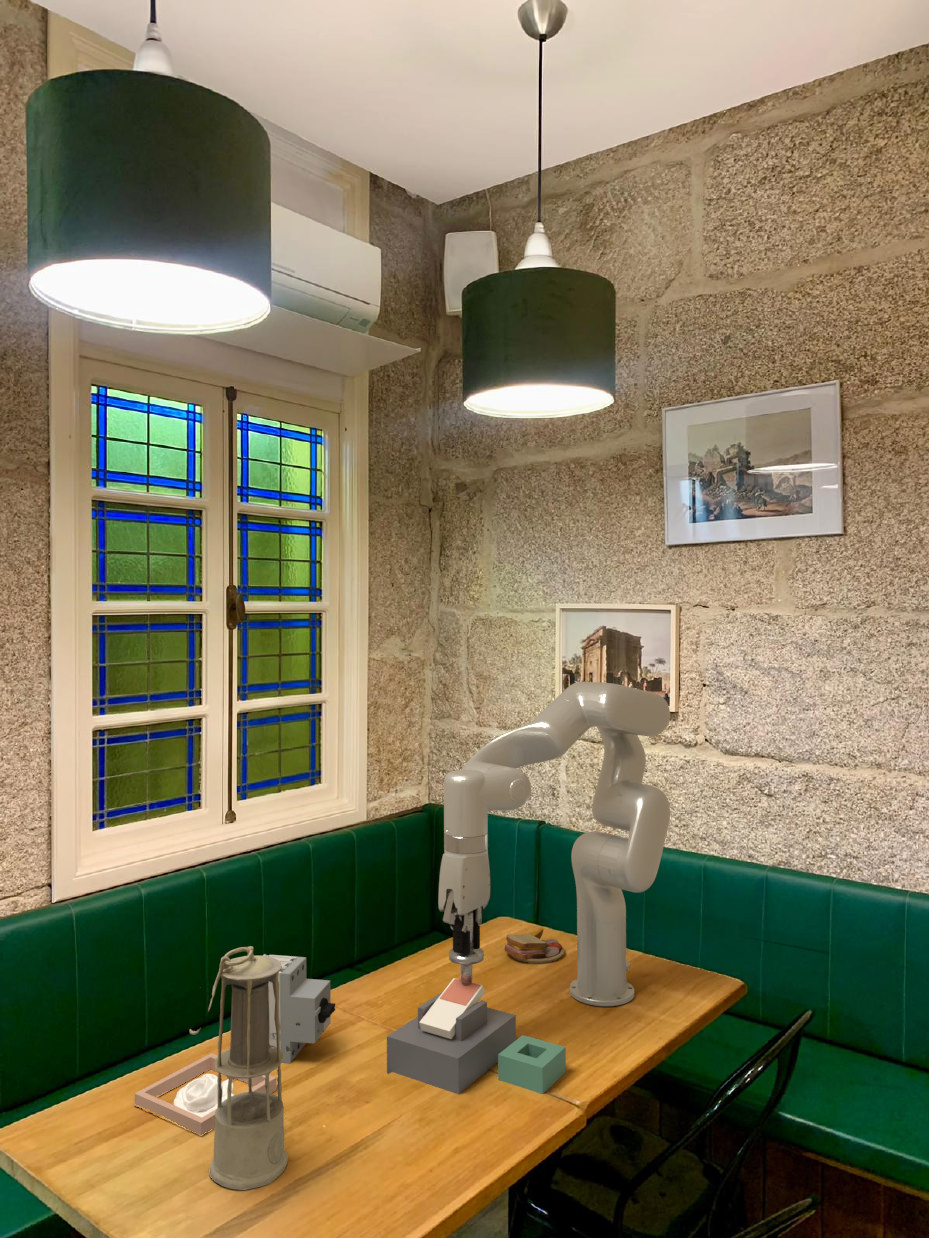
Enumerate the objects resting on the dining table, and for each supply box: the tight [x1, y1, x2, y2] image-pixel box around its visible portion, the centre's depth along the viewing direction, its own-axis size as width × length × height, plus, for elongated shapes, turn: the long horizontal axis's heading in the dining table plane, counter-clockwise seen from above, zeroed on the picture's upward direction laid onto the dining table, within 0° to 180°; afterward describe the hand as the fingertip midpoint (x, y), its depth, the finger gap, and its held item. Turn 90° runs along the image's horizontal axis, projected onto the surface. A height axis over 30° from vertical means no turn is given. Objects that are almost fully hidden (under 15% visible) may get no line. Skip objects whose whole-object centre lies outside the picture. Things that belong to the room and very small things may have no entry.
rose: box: [172, 1073, 235, 1117], centre depth 136 cm, size 10×4×10 cm
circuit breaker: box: [262, 953, 336, 1065], centre depth 153 cm, size 8×14×15 cm, turn 78°
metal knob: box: [448, 911, 485, 984], centre depth 153 cm, size 6×6×12 cm
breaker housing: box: [386, 991, 517, 1095], centre depth 150 cm, size 18×14×10 cm
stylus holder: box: [497, 1034, 567, 1095], centre depth 144 cm, size 8×8×4 cm
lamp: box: [189, 945, 288, 1191], centre depth 120 cm, size 10×13×30 cm
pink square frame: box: [134, 1052, 277, 1135], centre depth 139 cm, size 15×15×2 cm
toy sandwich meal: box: [503, 927, 565, 964], centre depth 197 cm, size 12×14×5 cm
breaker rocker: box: [419, 977, 486, 1039], centre depth 150 cm, size 11×6×2 cm, turn 147°
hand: (466, 949), depth 153 cm, fingers closed on metal knob
